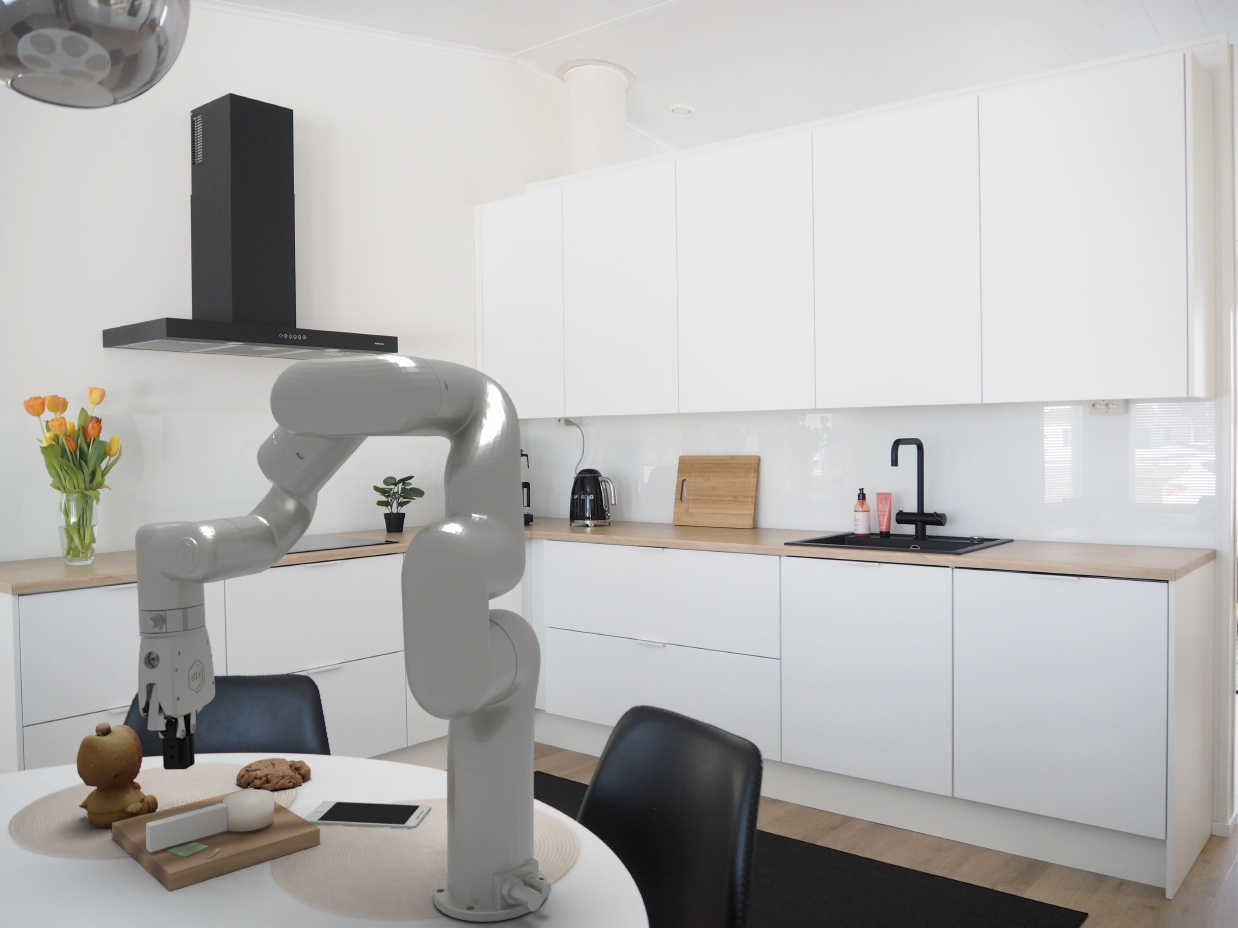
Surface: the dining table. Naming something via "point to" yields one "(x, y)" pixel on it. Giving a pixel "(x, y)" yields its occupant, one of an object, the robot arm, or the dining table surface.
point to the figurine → (113, 775)
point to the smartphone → (368, 814)
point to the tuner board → (213, 845)
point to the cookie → (274, 774)
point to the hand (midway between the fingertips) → (179, 766)
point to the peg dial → (213, 819)
